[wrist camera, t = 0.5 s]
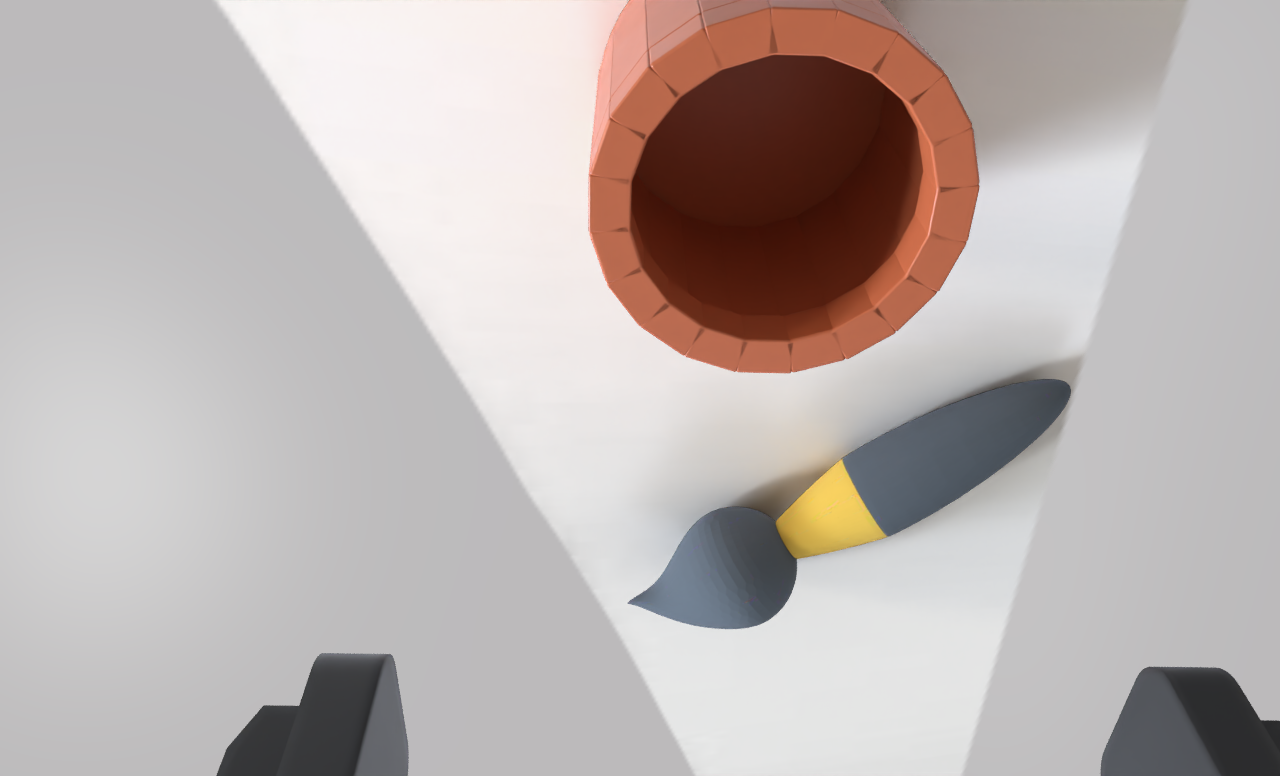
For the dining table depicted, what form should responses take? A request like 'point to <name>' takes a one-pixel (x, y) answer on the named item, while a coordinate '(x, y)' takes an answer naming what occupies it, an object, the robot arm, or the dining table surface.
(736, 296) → the jar
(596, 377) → the dining table surface
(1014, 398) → the paintbrush
